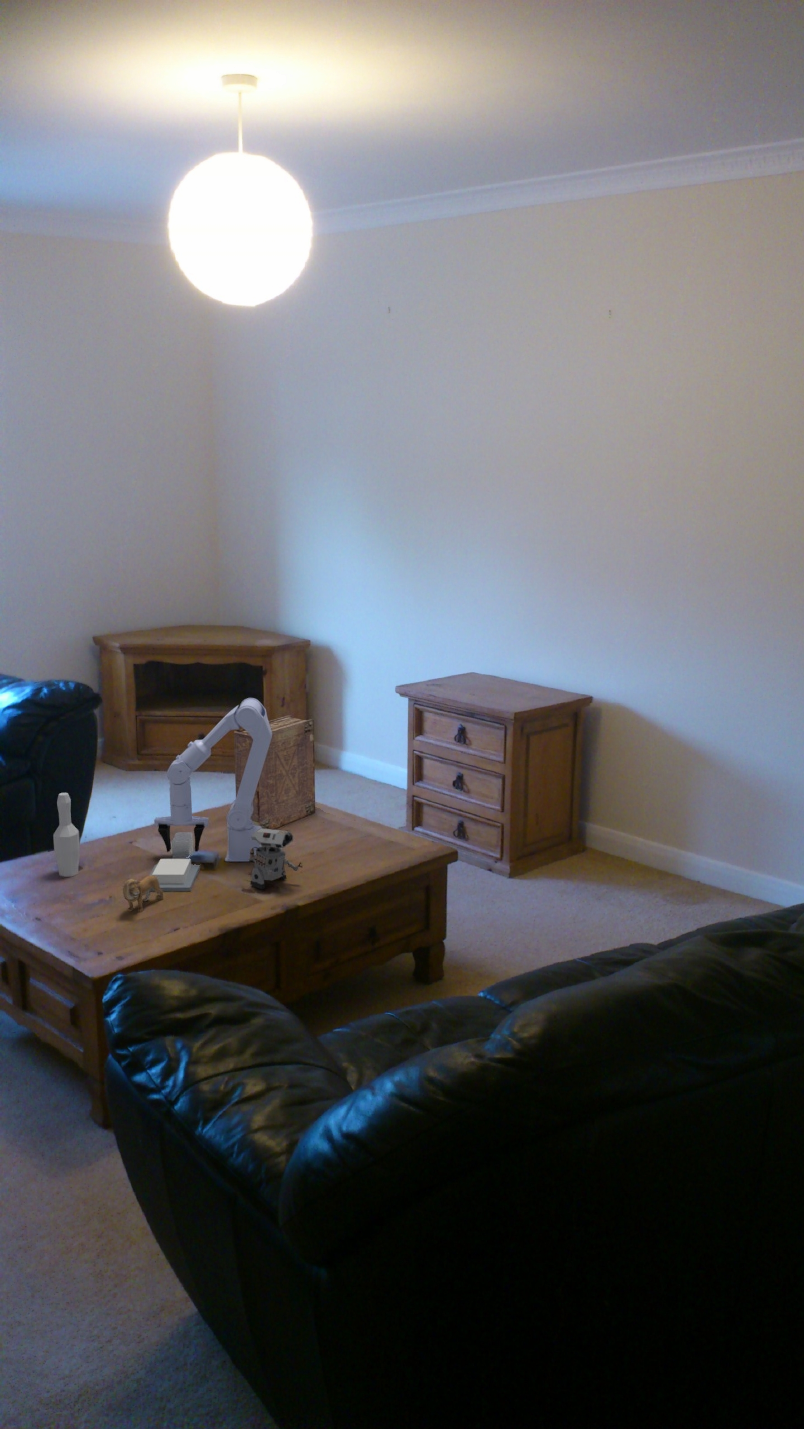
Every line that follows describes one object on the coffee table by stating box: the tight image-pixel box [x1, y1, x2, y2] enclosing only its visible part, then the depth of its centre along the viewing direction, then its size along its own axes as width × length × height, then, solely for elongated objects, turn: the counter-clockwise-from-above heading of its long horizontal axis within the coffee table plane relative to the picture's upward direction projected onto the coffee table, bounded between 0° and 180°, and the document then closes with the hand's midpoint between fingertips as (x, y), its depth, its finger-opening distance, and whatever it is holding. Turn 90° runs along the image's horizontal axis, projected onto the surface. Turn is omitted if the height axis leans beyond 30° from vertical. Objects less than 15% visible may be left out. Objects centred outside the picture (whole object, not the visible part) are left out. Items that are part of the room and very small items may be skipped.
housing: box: [171, 831, 195, 859], centre depth 301 cm, size 4×7×6 cm, turn 1°
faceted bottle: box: [52, 792, 81, 878], centre depth 287 cm, size 6×6×22 cm
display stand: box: [148, 858, 201, 892], centre depth 285 cm, size 12×16×4 cm
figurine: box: [248, 828, 303, 890], centre depth 281 cm, size 9×12×15 cm
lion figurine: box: [121, 875, 164, 913], centre depth 268 cm, size 15×5×9 cm, turn 163°
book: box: [233, 714, 316, 830], centre depth 327 cm, size 25×9×30 cm, turn 145°
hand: (182, 850), depth 301 cm, fingers open, 7 cm apart
